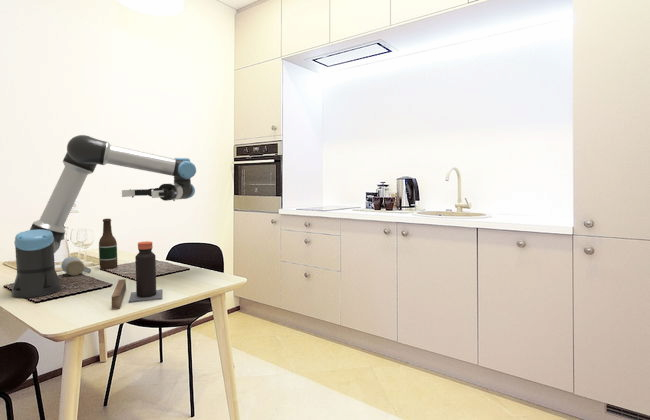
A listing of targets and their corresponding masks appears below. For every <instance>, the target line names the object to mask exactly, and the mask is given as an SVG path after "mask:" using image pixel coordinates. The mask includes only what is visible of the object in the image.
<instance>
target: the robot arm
mask: <svg viewBox="0 0 650 420" xmlns="http://www.w3.org/2000/svg"><path fill="white" fill-rule="evenodd" d="M64 155H65V156H64V158H63V160H62V163H63V165H64V167H63V170H62V171H61V174H60V176H59V178H58V180H57V182H56V184H55V187H54V188H53V190H52V192H51V195H50V197H49V199H48V201H47V204H46V206H44V207H45V208H44V210H43V212H42V213H41V216H40V217H39V219H38V220H35V221H33V222H32V224H31V226H30V228H29V230H24V231H20V232H18V233H16V235H15V237H14V247H15V248H14V249H15V262H16V263H15V264H16V265H15V266H16V277H15V280H14V282H13V285H12V288H11V295H12V297H14V298H22V299H23V298H24V299H25V298H37V297H36V296H38V297H43V295H44V296H47V294H48V295H51V293H52V294H55V293H57V292H59V291H60V290H62V283H61V281H60V278H59V276H58V273H57V271H56V267H55V266H56V265H55V253H56V252H57V251H58V250H59V249H60V246H61V243H62V240H63V237H64V236H65V233H66V229H65V228H64V226H65V223H67V220H68V217H69V215H70V213H71V211H72V209H73V206H74V204H75V202H76V200H77V198H78V196H79V194H80V192H81V190H82V187H83V185H84V184H85V181H86V179H87V177H88V176H89V175H90V174H93V173H94V172H95V170H96V168H97V165H100V166H101V165H102V166H105V165H107V164H108V165H115V166H119V167H124V168H129V169H134V170H140V171H146V172H150V173H156V174H159V175H160V174H162V175H167V176H171V177H173V183H162V184H161V185H160V186H159V187H154V188H148V189H147V188H146V189H144V188H143V189H142V188H141V189H122V190H121V197H122V198H128V197H129V198H130V197H131V198H134V197H136V196H142V197H143V196H148V197H151V199H158V198H160V199H161V200H162V201H167V202H169V201H173V202H175V201H176V200H187V199H190V198H192V197H193V196H194V195H195V193H196V188H195V187H194V185H193V184H192V182H191V178H193V177H194V176H195V175H196V174H197V167H196V166H195V164H194V163H193V162H192V161H191V159H190V158H189V157H188V158H187V157H174V158H172V157H167V156H163V155H158V154H154V153H150V152H149V153H148V152H146V151H145V152H144V151H140V150H135V149H131V148H125V147H120V146H116V145H112V144H110V142H109V141H105V140H102V139H98V138H94V137H93V136H89V135H85V134H78V135H75V136H73V137H72V138H71V139H69V140H68V141H67V145H66V154H64ZM54 292H55V293H54Z"/></svg>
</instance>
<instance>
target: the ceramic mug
mask: <svg viewBox="0 0 650 420" xmlns="http://www.w3.org/2000/svg"><path fill="white" fill-rule="evenodd" d="M61 270H62V271H63V272H65V273H66V274H68V275H70V276H71V277H72V276H73V277H74V276H79V275H80V274H82V273H83V272H84V273H91V271H92V269H91V268H90V267H87V266H85V264H84V262H83V261H82V260H81V259H79V258H78V257H76V256H67V257H66V258H64V259H63V260H62V262H61Z"/></svg>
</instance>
